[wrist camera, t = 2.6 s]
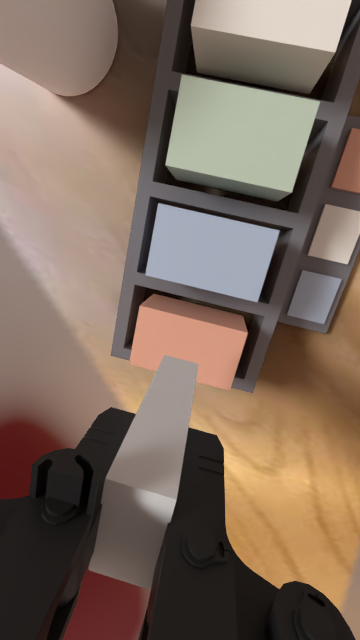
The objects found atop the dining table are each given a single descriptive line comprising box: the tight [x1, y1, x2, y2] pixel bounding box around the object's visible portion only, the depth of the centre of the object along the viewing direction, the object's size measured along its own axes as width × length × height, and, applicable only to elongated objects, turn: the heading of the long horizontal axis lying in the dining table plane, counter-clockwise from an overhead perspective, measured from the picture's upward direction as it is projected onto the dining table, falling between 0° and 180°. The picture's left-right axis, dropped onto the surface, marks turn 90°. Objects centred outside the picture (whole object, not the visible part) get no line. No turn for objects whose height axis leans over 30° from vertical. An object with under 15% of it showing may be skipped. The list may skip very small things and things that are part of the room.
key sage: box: [165, 75, 320, 202], centre depth 14 cm, size 4×6×4 cm, turn 78°
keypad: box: [111, 0, 360, 393], centre depth 18 cm, size 22×10×4 cm, turn 167°
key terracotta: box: [129, 294, 248, 391], centre depth 18 cm, size 4×6×4 cm, turn 77°
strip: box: [277, 115, 360, 334], centre depth 19 cm, size 13×4×1 cm, turn 167°
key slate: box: [145, 203, 280, 302], centre depth 16 cm, size 4×6×4 cm, turn 77°
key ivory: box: [191, 0, 352, 94], centre depth 13 cm, size 4×6×4 cm, turn 77°
